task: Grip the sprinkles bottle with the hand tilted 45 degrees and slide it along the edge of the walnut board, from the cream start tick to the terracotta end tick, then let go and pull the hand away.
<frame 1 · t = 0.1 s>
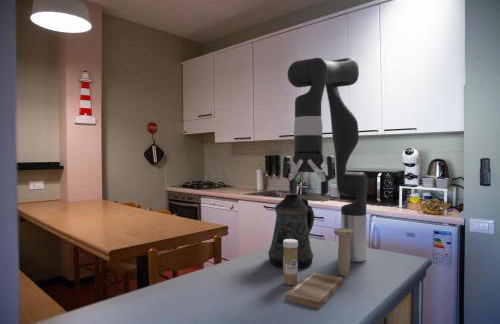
hand: (308, 194, 91), 29 cm above the kitchen island, tool pointing down, fingers open, 8 cm apart
beer stein: (291, 261, 127), on the kitchen island
handle: (344, 275, 112), on the kitchen island
sprinkles bottle: (290, 283, 105), on the kitchen island
walnut board: (315, 291, 99), on the kitchen island
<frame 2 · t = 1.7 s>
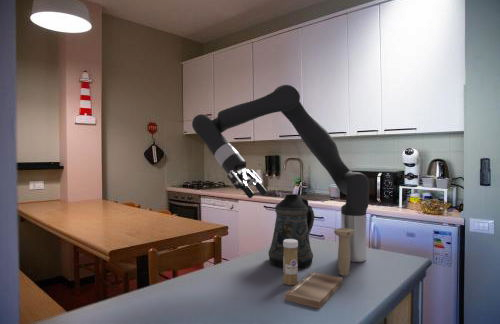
hand: (258, 195, 110), 27 cm above the kitchen island, tool tilted 45°, fingers open, 8 cm apart
nothing on the kitchen island moved.
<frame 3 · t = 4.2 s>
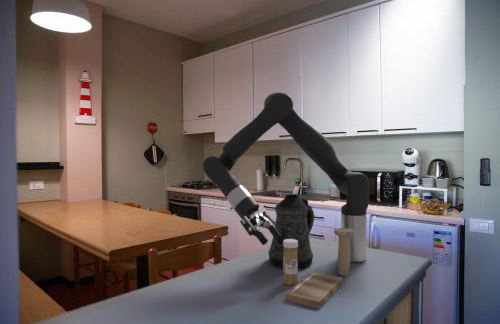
hand: (272, 240, 108), 13 cm above the kitchen island, tool tilted 45°, fingers open, 8 cm apart
nothing on the kitchen island moved.
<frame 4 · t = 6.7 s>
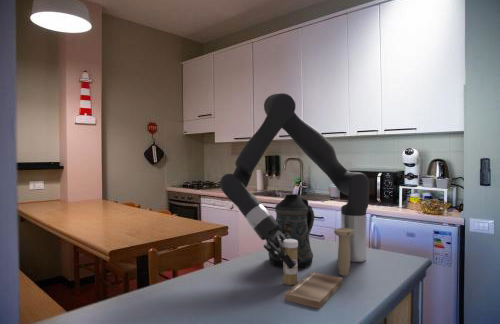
hand: (296, 264, 104), 6 cm above the kitchen island, tool tilted 45°, fingers closed on sprinkles bottle, 4 cm apart
sprinkles bottle: (290, 283, 105), on the kitchen island, touching gripper
everything else where it was.
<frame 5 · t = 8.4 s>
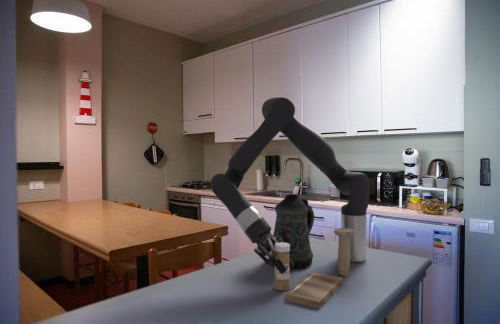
hand: (288, 269, 100), 6 cm above the kitchen island, tool tilted 45°, fingers closed on sprinkles bottle, 4 cm apart
sprinkles bottle: (282, 288, 101), on the kitchen island, touching gripper
everything else where it was.
when the fingers open (6 cm above the kitchen island, at t = 10.1 s): sprinkles bottle stays where it is, on the kitchen island.
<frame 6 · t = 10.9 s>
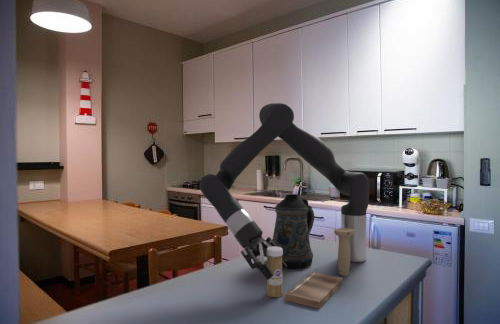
hand: (278, 273, 95), 7 cm above the kitchen island, tool tilted 45°, fingers open, 8 cm apart
sprinkles bottle: (274, 295, 97), on the kitchen island
everything else where it was.
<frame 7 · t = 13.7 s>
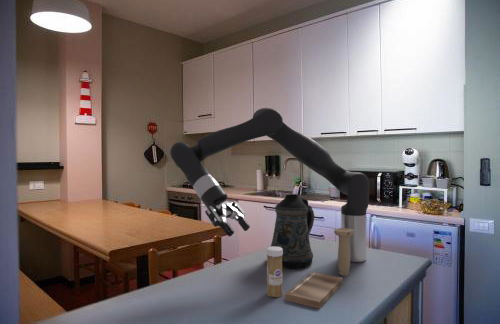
hand: (240, 231, 102), 17 cm above the kitchen island, tool tilted 45°, fingers open, 8 cm apart
nothing on the kitchen island moved.
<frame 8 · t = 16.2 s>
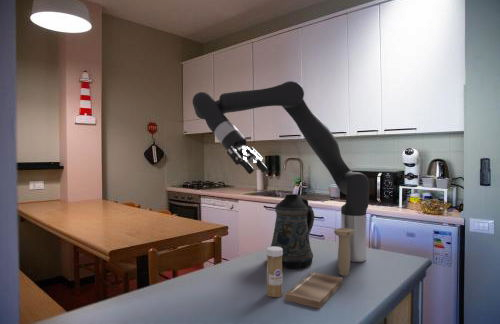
hand: (259, 171, 109), 35 cm above the kitchen island, tool tilted 45°, fingers open, 8 cm apart
nothing on the kitchen island moved.
at the end: sprinkles bottle 1.0 cm from the target spot, on the kitchen island; sprinkles bottle tilted 0°; the gripper is holding nothing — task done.
